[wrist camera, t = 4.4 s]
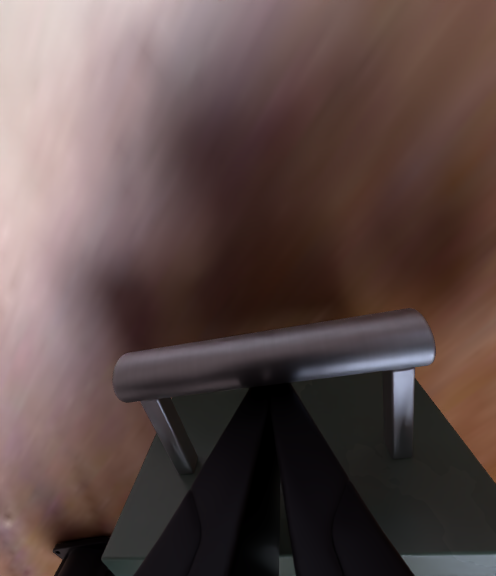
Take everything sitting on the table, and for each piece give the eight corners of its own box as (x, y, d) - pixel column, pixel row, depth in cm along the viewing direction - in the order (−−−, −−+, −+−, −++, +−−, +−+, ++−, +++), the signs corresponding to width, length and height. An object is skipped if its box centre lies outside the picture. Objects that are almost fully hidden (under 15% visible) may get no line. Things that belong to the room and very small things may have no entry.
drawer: (143, 299, 11) (-9, 443, 5) (395, 251, 10) (630, 375, 3) (237, 516, 18) (222, 695, 12) (396, 510, 16) (478, 714, 10)
